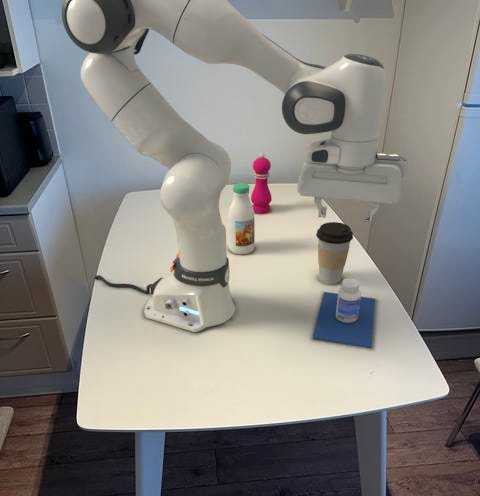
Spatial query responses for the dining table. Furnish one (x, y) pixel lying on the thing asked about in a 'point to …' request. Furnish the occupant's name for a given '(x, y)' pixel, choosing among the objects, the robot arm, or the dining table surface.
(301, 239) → the dining table surface
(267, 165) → the pepper mill
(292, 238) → the dining table surface
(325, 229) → the coffee cup
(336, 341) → the blue pad
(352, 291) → the pill bottle
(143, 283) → the dining table surface
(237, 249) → the milk bottle
